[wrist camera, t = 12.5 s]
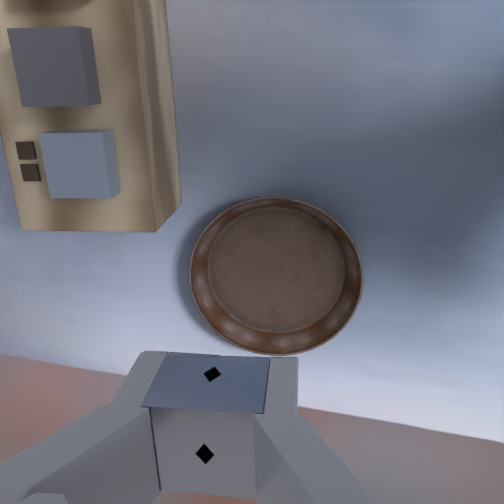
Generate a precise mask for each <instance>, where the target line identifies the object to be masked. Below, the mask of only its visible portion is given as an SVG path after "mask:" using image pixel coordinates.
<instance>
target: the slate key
mask: <svg viewBox="0 0 504 504" xmlns="http://www.w3.org/2000/svg"><path fill="white" fill-rule="evenodd" d="M38 135H39V141H40V146H41V151H42V156H43V162H44V167H45V172H46V177H47V183H48V188H49V193H50V198H104V199H111V198H113V197H114V196H116V195H117V194H119V193H120V192H121V191H120V183H119V176H118V168H117V160H116V153H115V145H114V137H113V130H112V129H110V130H50V131H46V132H41V133H38Z"/></svg>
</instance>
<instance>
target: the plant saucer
mask: <svg viewBox="0 0 504 504" xmlns="http://www.w3.org/2000/svg"><path fill="white" fill-rule="evenodd" d="M188 277H189V286H190V291H191V295H192V298H193V301H194V304H195V306H196V308H197V310H198V312H199V313H200V315H201V317H202V318H203V319H204V321H205V322H206V323H207V324H208V325H209V326H210V327H211V328H212V330H213V331H215V332H216V333H217V334H218V335H219V336H221V337H222V338H223V339H225V340H226V341H228V342H230V343H231V344H233V345H235V346H237V347H239V348H242V349H244V350H247V351H250V352H253V353H257V354H263V355H272V356H285V355H293V354H299V353H303V352H307V351H310V350H312V349H315V348H317V347H319V346H321V345H323V344H325V343H326V342H328V341H329V340H331V339H332V338H334V337H335V336H336V335H337V334H338V333H339V332H340V331H341V330H342V329H343V328H344V327H345V326H346V325H347V324H348V322H349V321H350V319H351V318H352V316H353V315H354V313H355V311H356V309H357V307H358V304H359V302H360V298H361V295H362V289H363V267H362V262H361V258H360V255H359V252H358V250H357V247H356V245H355V243H354V241H353V240H352V238H351V237H350V235H349V234H348V232H347V231H346V230H345V229H344V227H343V226H342V225H341V224H340V223H339V222H338V221H337V220H335V219H334V218H333V217H332V216H330V215H329V214H328V213H326V212H325V211H323V210H322V209H320V208H318V207H316V206H314V205H312V204H310V203H307V202H304V201H301V200H297V199H293V198H288V197H273V196H272V197H260V198H254V199H250V200H246V201H243V202H241V203H238V204H236V205H233V206H231V207H229V208H228V209H226V210H224V211H223V212H221V213H220V214H219V215H217V216H216V217H215V218H214V219H213V220H212V221H211V222H210V223H209V224H208V225H207V226H206V227H205V229H204V230H203V231H202V233H201V234H200V236H199V237H198V239H197V241H196V243H195V245H194V247H193V250H192V253H191V257H190V261H189V272H188Z"/></svg>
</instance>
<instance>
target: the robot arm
mask: <svg viewBox="0 0 504 504" xmlns="http://www.w3.org/2000/svg"><path fill="white" fill-rule="evenodd" d="M297 405H298V358H297V357H271V358H270V357H242V356H220V355H210V354H195V353H180V352H170V353H169V352H165V351H144V352H142V353H140V355H139V356H138V358H137V360H136V361H135V363H134V365H133V366H132V368H131V370H130V372H129V373H128V375H127V377H126V379H125V380H124V382H123V383H122V385H121V387H120V389H119V390H118V392H117V394H116V395H115V397H114V399H113V401H112V402H111V404H110V405H101V406H99V407H98V408H96V409H94V410H93V411H91V412H89V413H87V414H86V415H84V416H82V417H81V418H79V419H77V420H75V421H74V422H72V423H70V424H69V425H67V426H66V427H64V428H62V429H60V430H59V431H57V432H55V433H53V434H52V435H50V436H48V437H47V438H45V439H43V440H42V441H40V442H38V443H36V444H35V445H33V446H31V447H30V448H28V449H26V450H25V451H23V452H21V453H19V454H18V455H16V456H14V457H13V458H11V459H9V460H8V461H6V462H4V463H3V464H1V465H0V504H152V503H153V502H154V501H155V500H156V499H157V498H158V496H159V495H160V492H172V493H192V494H210V495H219V496H228V497H237V498H247V499H256V503H257V504H380V503H379V502H378V501H377V500H376V499H375V498H374V497H373V495H372V494H371V493H370V492H369V490H368V489H367V488H366V487H365V486H364V485H363V484H362V482H361V481H360V480H359V479H358V478H357V477H356V475H355V474H354V473H353V472H352V471H351V470H350V468H349V467H348V466H347V465H346V464H345V463H344V461H343V460H342V459H341V458H340V457H339V456H338V455H337V453H336V452H335V451H334V450H333V449H332V448H331V446H330V445H329V444H328V443H327V442H326V441H325V439H324V438H323V437H322V436H321V435H320V434H319V433H318V431H317V430H316V429H315V428H314V427H313V426H312V424H311V423H310V422H309V421H308V420H307V419H306V418H305V417H298V416H297Z"/></svg>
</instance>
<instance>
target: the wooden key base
mask: <svg viewBox="0 0 504 504" xmlns="http://www.w3.org/2000/svg"><path fill="white" fill-rule="evenodd" d="M63 26H81V27H86V28H91V30H92V37H93V45H94V52H95V59H96V67H97V74H98V81H99V89H100V96H101V103H102V104H98V105H92V106H52V107H22V103H21V98H20V93H19V88H18V83H17V78H16V73H15V68H14V63H13V58H12V53H11V48H10V43H9V38H8V33H7V28H34V27H63ZM110 129H112V130H113V137H114V145H115V153H116V160H117V168H118V176H119V183H120V191H121V192H120V193H119V194H117V195H116V196H114V197H113V198H111V199H104V198H50V193H49V188H48V183H47V177H46V172H45V167H44V162H43V156H42V151H41V146H40V141H39V135H38V133H41V132H46V131H50V130H110ZM0 133H1V138H2V142H3V147H4V151H5V156H6V160H7V165H8V169H9V174H10V178H11V183H12V188H13V192H14V197H15V201H16V206H17V210H18V215H19V219H20V224H21V228H22V230H45V231H103V232H156V231H157V230H158V229H159V228H160V226H161V225H162V224H163V223H164V222H165V221H166V220H167V219H168V218H169V217H170V216H171V215H172V213H173V212H174V211H175V210H176V209H177V208H178V207H179V206H180V205H181V204H182V199H181V187H180V174H179V162H178V150H177V137H176V125H175V112H174V100H173V88H172V75H171V63H170V51H169V38H168V26H167V13H166V1H165V0H50V1H25V0H0Z"/></svg>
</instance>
